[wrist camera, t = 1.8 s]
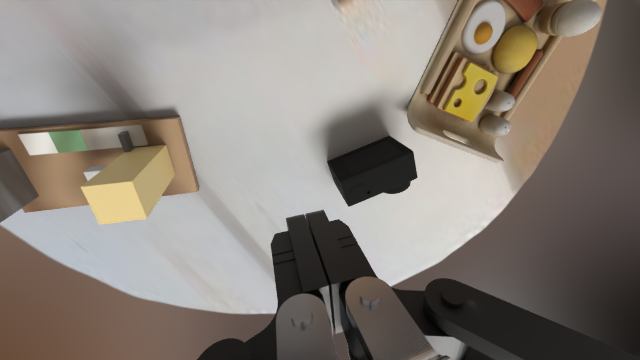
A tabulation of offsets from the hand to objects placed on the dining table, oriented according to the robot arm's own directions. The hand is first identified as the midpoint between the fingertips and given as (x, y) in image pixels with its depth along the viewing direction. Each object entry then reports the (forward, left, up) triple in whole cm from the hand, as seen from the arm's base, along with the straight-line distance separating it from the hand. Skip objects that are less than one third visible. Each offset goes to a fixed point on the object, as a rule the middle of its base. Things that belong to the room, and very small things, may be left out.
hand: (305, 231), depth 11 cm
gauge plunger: (-5, -17, -25) cm, 31 cm away
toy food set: (+12, +29, -27) cm, 42 cm away
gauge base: (-6, -21, -27) cm, 34 cm away
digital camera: (+15, +6, -27) cm, 31 cm away
